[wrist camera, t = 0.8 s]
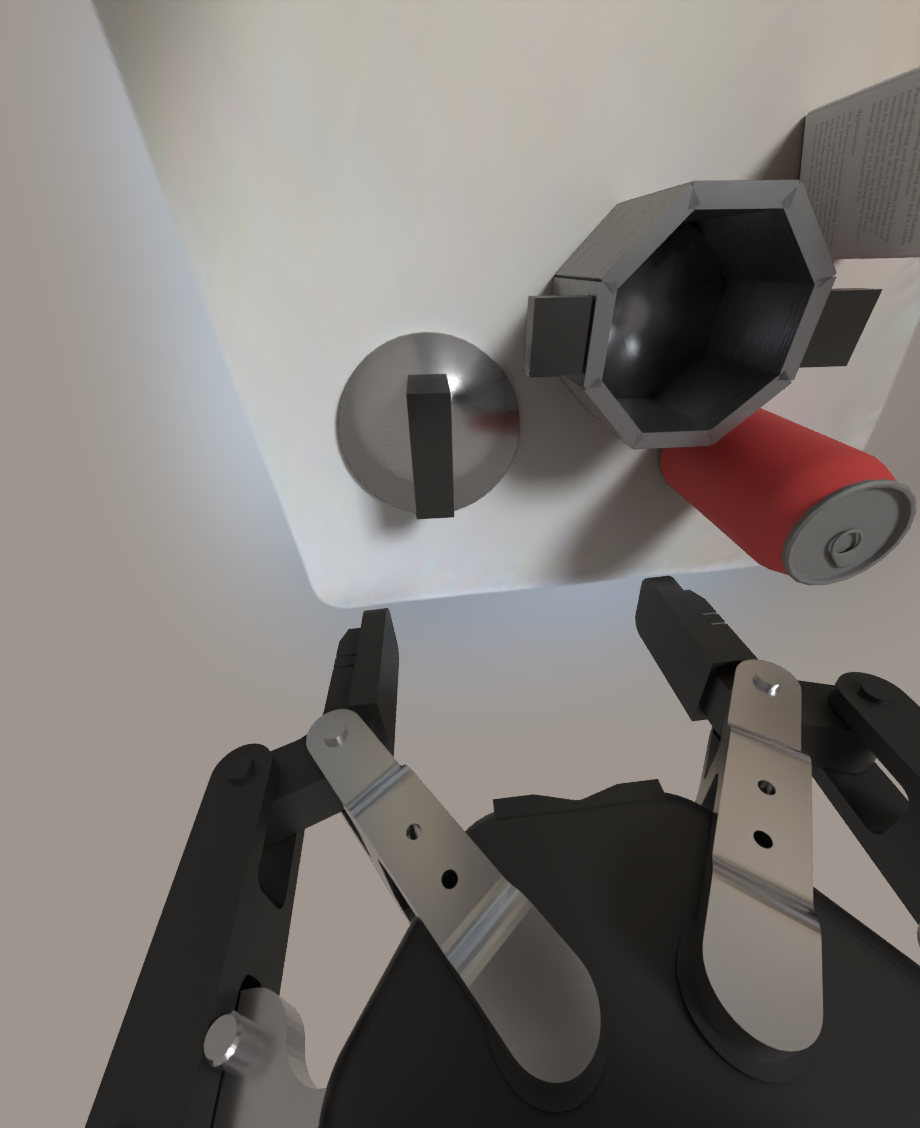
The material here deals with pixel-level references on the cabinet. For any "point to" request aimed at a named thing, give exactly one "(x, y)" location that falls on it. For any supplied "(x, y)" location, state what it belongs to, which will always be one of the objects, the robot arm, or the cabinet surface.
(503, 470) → the lid
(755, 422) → the beer can
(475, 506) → the cabinet surface
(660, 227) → the pot
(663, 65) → the cabinet surface
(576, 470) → the cabinet surface
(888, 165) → the skincare box
